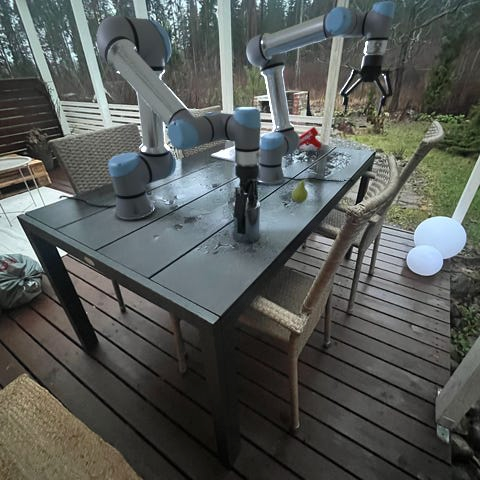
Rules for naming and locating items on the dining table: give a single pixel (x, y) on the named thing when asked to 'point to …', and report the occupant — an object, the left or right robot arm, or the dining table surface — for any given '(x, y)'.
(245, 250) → the dining table surface
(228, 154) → the relief map
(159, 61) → the left robot arm
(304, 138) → the toy gun
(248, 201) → the tin
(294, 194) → the fruit
